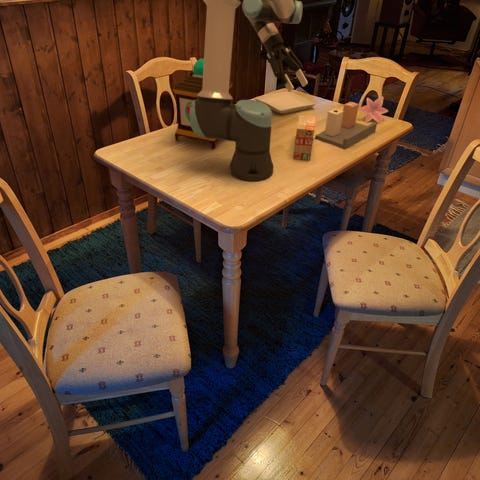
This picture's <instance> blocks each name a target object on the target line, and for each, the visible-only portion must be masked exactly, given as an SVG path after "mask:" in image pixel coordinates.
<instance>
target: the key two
mask: <svg viewBox="0 0 480 480" xmlns="http://www.w3.org/2000/svg"><path fill="white" fill-rule="evenodd" d="M359 105H360V103H356V102H352V101H349V102H347V103H345V104H343V110H342V111H344V112H343V118H342V123H341V126H343V127H346V128H350V127H352V126H354V125H355V122H356V123H357V116H358V111H359V110H358V109H359V108H360V107H359Z"/></svg>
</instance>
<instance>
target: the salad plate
mask: <svg viewBox="0 0 480 480" xmlns="http://www.w3.org/2000/svg"><path fill="white" fill-rule="evenodd" d="M254 99H255V101H259V102H262V103H264V104H266V105H267V106H268V107H269V108H270V109H271V111H274V112H275V113H278V114H281V115H284V114H285V113H286V114H290V113H294V112H299V111H303V110H307V109H310V108H313V107H314V106H315V105H316V103H315V102H313V101H312V100H310V99H307V98H305V97H303V96H301V95H298V94H296V93H293V92H292V91H290V92H288V90H287V91H283V92H276V93H275V92H274V93H272V94H265V95H261V96H256V97H254Z"/></svg>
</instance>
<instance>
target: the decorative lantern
mask: <svg viewBox="0 0 480 480" xmlns="http://www.w3.org/2000/svg"><path fill="white" fill-rule="evenodd" d="M203 67H204V58H199V59H198V60H196V62H195V63H194V64H193V67H192V70H193V71H192V72H190V73H189V75H188V76H186V78H184V79H182V80H180V81H178V82H177V83H176V84H174V86H173V87H172V91H173V93H174V94H175V100H176V101H175V103H176V117H177V127H176V129H175V132H174V139H175V141H176V142H179V141H180V139H181V137H183V138H188V139H193V140H196V141H197V140H198V141H203V142H207V143H209V144H210V146H211V149H212V150H216V143H217V142H218V141H220V140H219V139H212V138H205V137H200V136H197V135H196V134H195V133H194V132H193V130H192V128H191V124H190V108H191V103H192V102H193V101H194V100H197V94H198V93H199V92H201V91H202V84H203ZM233 85H234V84H233V82H232V81H231V80H229V94H230V95H231V88H232V87H233Z"/></svg>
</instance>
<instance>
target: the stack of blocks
mask: <svg viewBox="0 0 480 480" xmlns="http://www.w3.org/2000/svg"><path fill="white" fill-rule="evenodd" d="M315 127H316V116H314V115H302V114H299V116H298V122H297V126H296V133H295V141H294V151H293V157H292V158H293V160H295V161H306V162H310V161H311V157H312V151H313V143H314V136H315V131H316V130H315Z"/></svg>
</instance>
